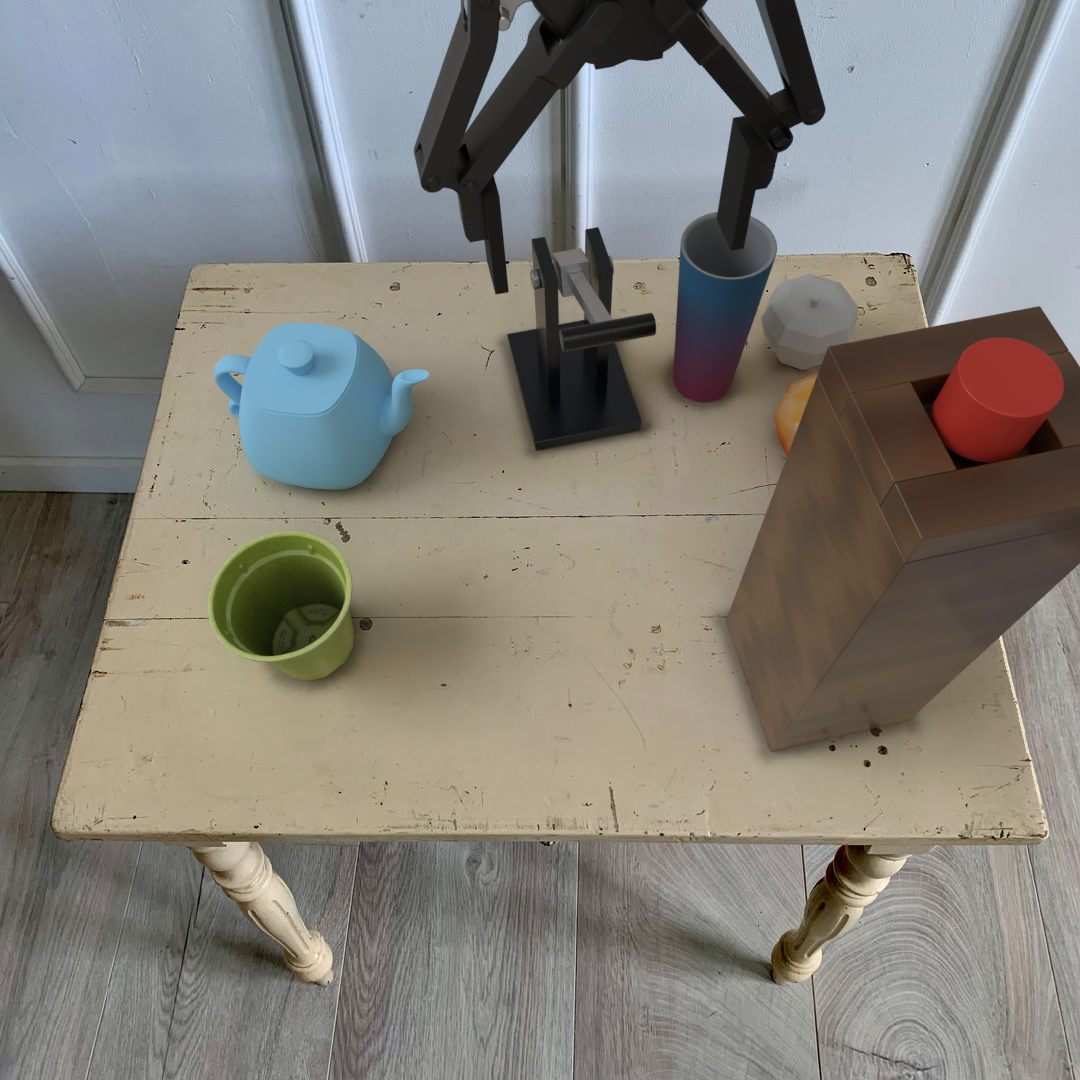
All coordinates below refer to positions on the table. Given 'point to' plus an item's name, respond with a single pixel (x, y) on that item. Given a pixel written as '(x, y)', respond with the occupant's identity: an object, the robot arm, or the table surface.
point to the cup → (717, 304)
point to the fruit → (792, 410)
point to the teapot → (316, 405)
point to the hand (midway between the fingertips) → (614, 255)
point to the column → (899, 537)
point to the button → (996, 399)
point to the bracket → (570, 362)
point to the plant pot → (285, 604)
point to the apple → (808, 319)
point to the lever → (593, 308)
